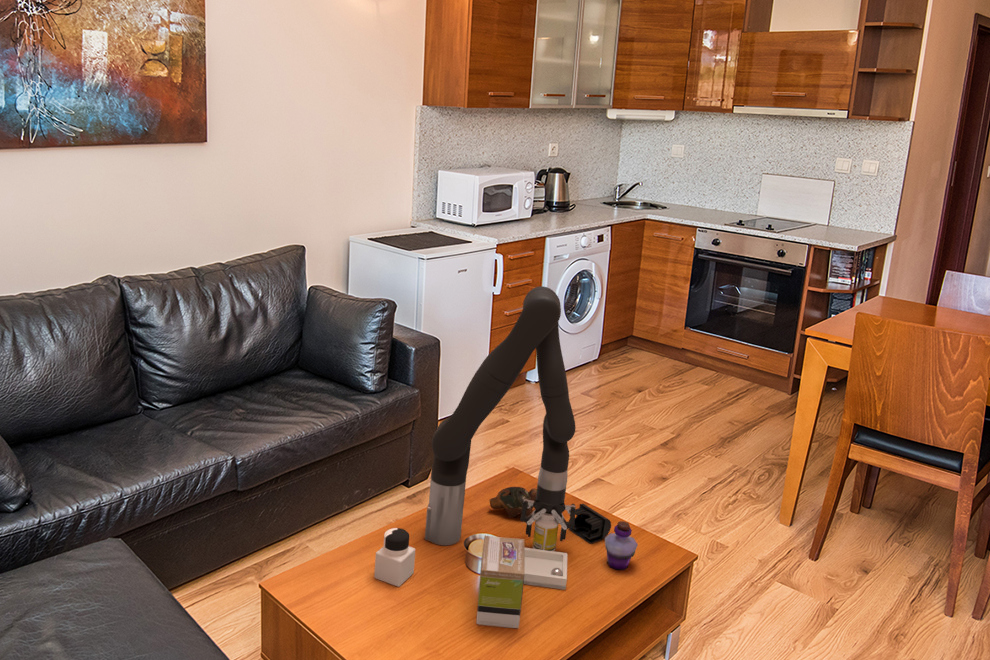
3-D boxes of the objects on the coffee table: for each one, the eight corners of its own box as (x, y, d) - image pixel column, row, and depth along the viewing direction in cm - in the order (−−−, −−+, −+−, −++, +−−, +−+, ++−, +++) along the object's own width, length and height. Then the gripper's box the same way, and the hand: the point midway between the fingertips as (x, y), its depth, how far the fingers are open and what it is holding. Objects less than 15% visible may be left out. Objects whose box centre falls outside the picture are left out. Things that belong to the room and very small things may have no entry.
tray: (508, 582, 207) (510, 571, 206) (512, 556, 218) (513, 546, 218) (565, 589, 206) (566, 579, 205) (565, 563, 218) (567, 553, 217)
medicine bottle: (414, 573, 207) (417, 530, 203) (398, 587, 200) (402, 543, 197) (389, 564, 209) (392, 521, 206) (373, 578, 203) (376, 534, 200)
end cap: (609, 538, 232) (613, 516, 230) (591, 545, 228) (594, 523, 226) (584, 522, 239) (587, 501, 237) (566, 528, 235) (569, 507, 233)
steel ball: (549, 581, 207) (551, 571, 206) (550, 575, 210) (551, 564, 209) (561, 583, 207) (563, 572, 206) (562, 576, 210) (563, 566, 209)
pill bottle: (555, 543, 226) (560, 507, 223) (554, 556, 220) (559, 518, 217) (532, 540, 227) (537, 504, 224) (531, 552, 221) (536, 515, 218)
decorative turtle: (545, 520, 238) (547, 496, 235) (493, 525, 235) (494, 500, 232) (536, 502, 247) (538, 478, 244) (486, 506, 244) (487, 482, 241)
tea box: (478, 587, 204) (484, 533, 200) (519, 591, 204) (526, 537, 199) (475, 625, 189) (481, 568, 185) (519, 630, 189) (526, 573, 185)
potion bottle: (640, 569, 218) (647, 528, 215) (615, 576, 214) (621, 535, 210) (619, 552, 225) (625, 512, 222) (594, 559, 221) (600, 519, 217)
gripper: (524, 485, 215) (517, 541, 220) (579, 493, 214) (571, 548, 219) (525, 473, 222) (519, 527, 227) (579, 479, 221) (572, 534, 226)
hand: (545, 537), depth 223 cm, fingers open, 8 cm apart
